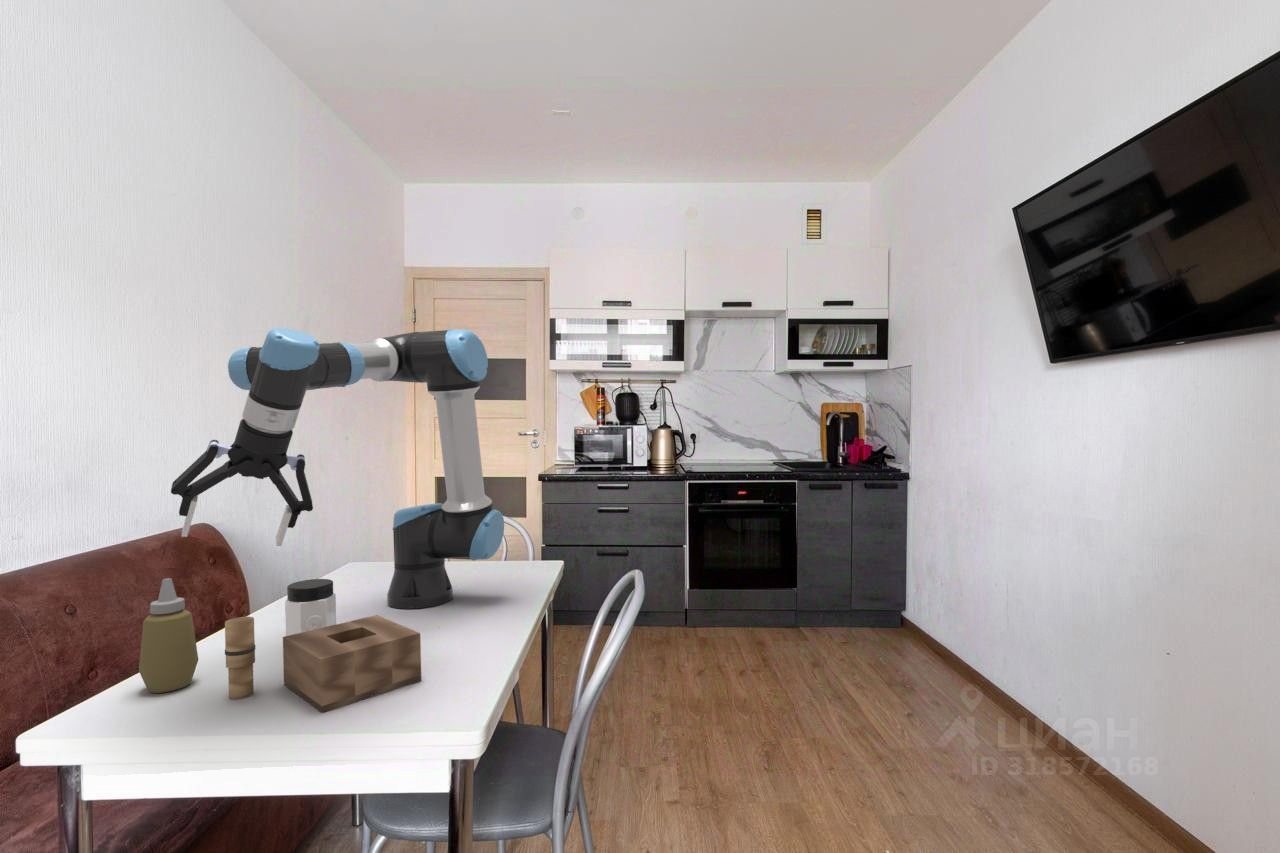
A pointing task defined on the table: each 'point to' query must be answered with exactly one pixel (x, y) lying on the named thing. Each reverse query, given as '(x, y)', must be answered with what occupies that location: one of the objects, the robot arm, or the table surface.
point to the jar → (310, 606)
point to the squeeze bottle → (168, 643)
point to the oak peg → (240, 656)
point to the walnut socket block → (351, 661)
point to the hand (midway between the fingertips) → (233, 537)
